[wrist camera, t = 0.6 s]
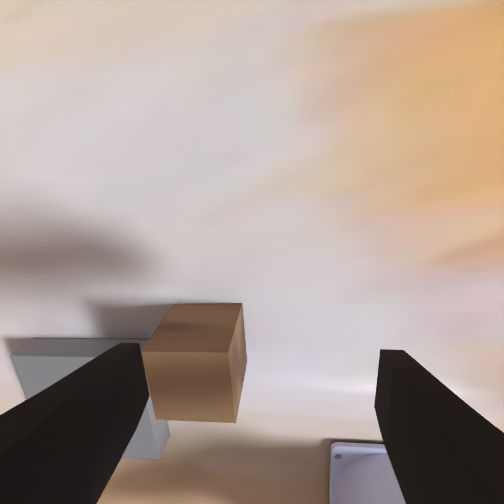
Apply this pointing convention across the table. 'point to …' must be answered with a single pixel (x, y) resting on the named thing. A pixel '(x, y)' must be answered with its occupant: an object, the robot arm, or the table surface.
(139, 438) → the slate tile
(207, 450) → the table surface
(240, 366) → the walnut block
